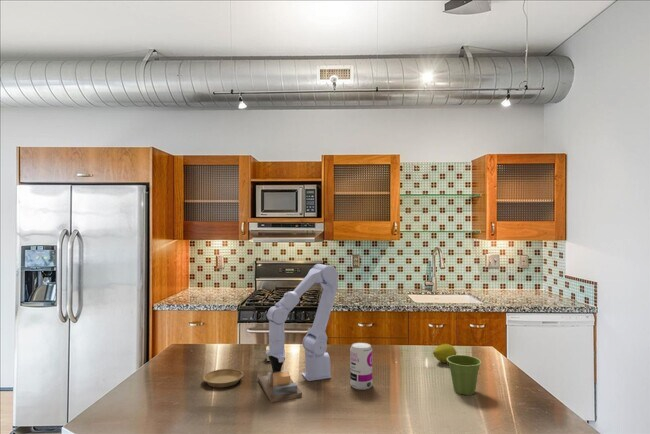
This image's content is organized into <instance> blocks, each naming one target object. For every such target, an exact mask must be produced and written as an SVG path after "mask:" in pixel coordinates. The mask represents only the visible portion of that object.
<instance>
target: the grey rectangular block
mask: <svg viewBox="0 0 650 434" xmlns="http://www.w3.org/2000/svg"><path fill="white" fill-rule="evenodd" d="M283 371H287V372H288V374H289V375H290V373H289V371H288V370H287V369H283V370H282V369H281V371H275V372H273V371H268V372H267V375H268V383H269V385H270V386H273V373H276V372H283Z"/></svg>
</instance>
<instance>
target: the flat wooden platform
mask: <svg viewBox="0 0 650 434" xmlns="http://www.w3.org/2000/svg"><path fill="white" fill-rule="evenodd" d="M257 379H258V380H257V381H258V383H259V384H260V386H261V388H262V389H263V391H264V392H265V393H264V394H265V395H266V396H267V398H268V400H269V401H270V403H273V402H281V401H285V400H291V399H293V400H294V399H297V398H302V397H303V391H302V390H301V389H300V388H299V387H298V384H297V383H296V382H294V381H293V379H292V378H291V377H290V384H284V385H278V386H270V385H269V383H268V374H267V375H261V376H258V378H257Z"/></svg>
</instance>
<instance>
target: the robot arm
mask: <svg viewBox="0 0 650 434" xmlns="http://www.w3.org/2000/svg"><path fill="white" fill-rule="evenodd" d="M338 276H339V273H338V271H337V269H336V268H335V266H333V265H330V264H329V265H328V264H322V263H316V264H315V265H313V266H312V268H311V269H309V270H308V273H307V275H306V276H305V277H304V278H303V279H302V280H301V281H300V283H298V285H297V286H296V287H295V288H294V290H293V291H291V290H290V291H287V292H285V293H284V294H283V297H282V298H280V300H279V301H278V302H276V303H275V304H274V306H271V307H270V308H269V309H268V311H267V313H266V314H265V315H266V318H267V320H268V346H269V351H266V350H265V354H267V355H272V356H268V358H269V360H270V362H269V363H270V365H271V366H270V367H271V370H272V371H271V372H275V371H282V367H283V364H284V363H285V361H286V357H285V354H286V353H285V352H286V350H285V322H286V321H287V319H288V316H289V314H290V313H291V311H293V309H294V308H295V307H296V306H297V305H298V304H299V303H300V297H302V295H304V294H305V293H306V292H307V291H308V290H309V289H310V288H311V287H312V286H313V285H314V284H320V286H321V287H322V289H323V290H322V292H321V296H320V298H319V299H320V300H319V303H318V305H317V309H316V313H315V315H314V318H313V319H314V320H313V324H312V327H310V328H309V329H307V332H306V335H305V336H304V337H303V339H302V343H301V344H302V347H303V348H304V350H305V354H304V355H305V356H304V357H305V359H304V360H305V361H304V363H305V368H304V369H305V371H304V372H301V374H302V376H303V377H304V378H305V379H306V380H307V381H308V382H310V381H319V380H325V379H331V378H332V376H331V358H330V355H329V353H328V352H326V351H327V348H328V344H327V342H328V335H327V333H326V330H327V326H328V323H329V320H330V315H331V313H332V309H333V306H334V303H335V299H336V295H337V292H338V288H339V287H338Z"/></svg>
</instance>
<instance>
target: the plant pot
mask: <svg viewBox="0 0 650 434" xmlns="http://www.w3.org/2000/svg"><path fill="white" fill-rule="evenodd" d="M447 361H448V363H447V364H448V366H449V370H450V375H451V380H452V381H451V382H452V385H453V387H452V388H453V390H454V391H453V392H455V393H457V394H459V395H465V396H471V395H475V393H476V387H477V380H478V374H479V371H480V365H482V361H481V359H479V358H477V357H476V356H471V355H468V354H456V355H452V356H449V357H447Z"/></svg>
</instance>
